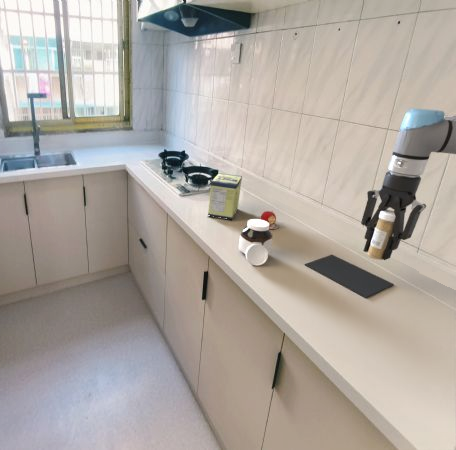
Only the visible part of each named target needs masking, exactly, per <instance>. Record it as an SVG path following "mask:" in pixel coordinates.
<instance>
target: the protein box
mask: <svg viewBox="0 0 456 450" xmlns="http://www.w3.org/2000/svg"><path fill="white" fill-rule="evenodd" d="M242 180H243V176H242V175H235V174H228V173H222V172H221V173H220V172H219V173H218V174H217V175H216V176H214V178H213V179H212V181H210V189H209V191H210V192H209V201H208V211H207V213H208V214H207V216H208V215H210V216H214V217H221V218H227V219H232V218H233V219H234V217H235V215H236V213H237V211H238V209H237V208H239V202H240V193H241V187H242ZM236 210H237V211H236ZM235 212H236V213H235ZM234 214H235V215H234ZM233 216H234V217H233ZM214 217H213V218H214ZM233 219H232V220H233Z"/></svg>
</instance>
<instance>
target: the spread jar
mask: <svg viewBox="0 0 456 450" xmlns="http://www.w3.org/2000/svg"><path fill="white" fill-rule="evenodd" d="M272 243H273V234H272V232H271V229H269V223H268V222H267V221H264V220H261V218H251V219H248V220H247V224H246V227H244V228H243V229H242V231H241V232H240V235H239V240H238V250H239V251H240V253H241V254H242V255H243V256H244V257H245V259H246V261H247V262H248V263H250V264H251V265H252V266H257V267H258V266H262V265H264V264H265V263H266V262H267V261H268V258H269V253H270V251H271V248H272Z"/></svg>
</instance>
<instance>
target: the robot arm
mask: <svg viewBox="0 0 456 450" xmlns="http://www.w3.org/2000/svg"><path fill="white" fill-rule="evenodd" d="M444 116H446V113H445V112H444V110H439V109H429V108H428V109H426V108H411V109H409V110H407V111H406V112H405V115H404V117H403V120H402V122H401V125H400V127H399V130H398V135H397V138H396V141H395V144H394V147H393V151H392V154H391V157H390V160H389V162H388V166H387V170H388V171H387V172H385V175H384V178H383V180H382V181H383V182H382V185H381V187H380V188H379V189H377V190H376V189H372V190H368V191H367V193H366V194H367V201H366V203H365V208H364V211H363V213H362V214H363V215H362V217H361V222H360V224H361V225H362V226H365V227H366V231H365V234H364V240H365V241H366V242H365V244H364V248H363V252H365V253H367V252H368V250H369V247H370V243H371V240H372V237H373V234H374V231H375V228H376V225H377V222H378V220H379V214H380V212H381V211H384V210H389V208H390V209H392V210H393V211H394V214H395V216H396V217H395V220H394V231H393V236H392V237H390V238H389V240H388V243H387V246H386V248H385V251H384V254H383V257H382V259H383V261H386V260H389V259H391V258H392V254H393V251H396V250H397V249H398V248H399V246H400V243H401V240H403V241H406V240H409V239H411V238H412V236H413V233H414V230H415V228H416V226H417V223H418V221H419V219H420V216H421V214H422V212H423V211H424V210H425V209H426V208H427V205H426V203H422V202H420V201H418V200H417V197H416V193H417V191H418V189H419V186H420V184H421V181H422V177H421V176H423V175H424V173H425V170H426V167H427V164H428V162H429V159H430V156H431V154H432V153H437V154H439V153H441V154H451V155H456V115H454V116H453V117H445V118H444ZM378 198H379V199H380V201H381V202H380V203H379V204H378V206H377V209H376V211H375V208H376V205H377V202H378ZM409 206H411V211H410V213H409V215H408V218H407V221H406V223H405V216H406V212H407V207H409ZM374 211H375V213H374Z"/></svg>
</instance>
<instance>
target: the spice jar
mask: <svg viewBox="0 0 456 450" xmlns="http://www.w3.org/2000/svg"><path fill="white" fill-rule="evenodd" d="M395 217H396V216H395V214H394V210H393V209H392V210H391V209H387V210H384V211H381V212H380V214H379V220H378V222H377V225H376V228H374V229H375V231H374V234H373V237H372V240H371V243H370V247H369V250H368V252H366V255H367V256H368V257H369V258H372V259H374V260H379V261H380V260H381V261H382V260H383V259H382V257H383V254H384V251H385V248H386V246H387V243H388V240H389V238H390V237H393V231H394V220H395ZM383 261H384V260H383Z"/></svg>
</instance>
